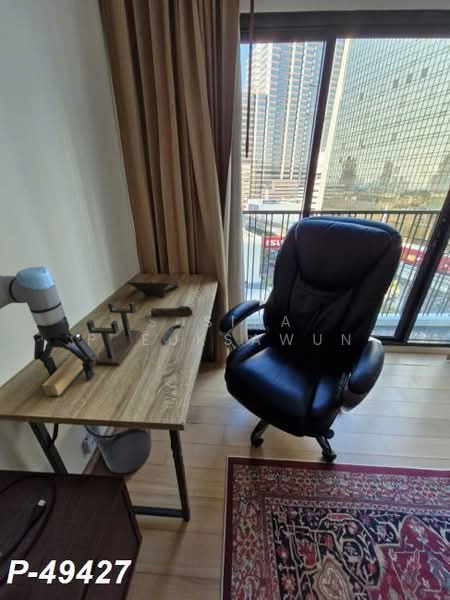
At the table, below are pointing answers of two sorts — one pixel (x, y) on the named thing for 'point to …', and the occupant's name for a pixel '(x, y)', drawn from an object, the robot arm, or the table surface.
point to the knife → (170, 333)
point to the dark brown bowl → (152, 288)
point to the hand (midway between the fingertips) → (72, 375)
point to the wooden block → (63, 376)
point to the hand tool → (172, 311)
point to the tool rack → (122, 342)
